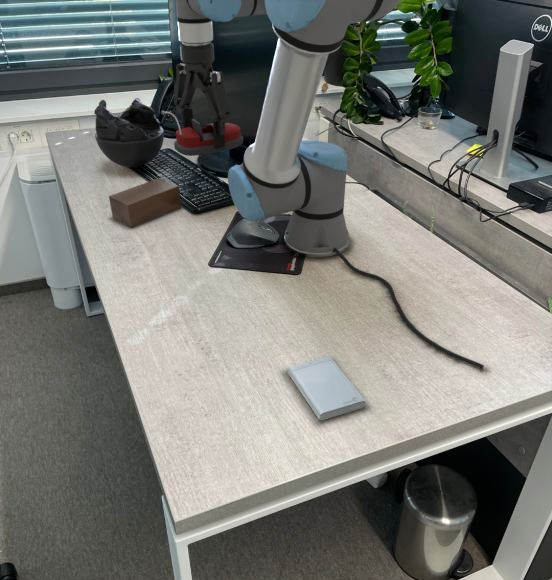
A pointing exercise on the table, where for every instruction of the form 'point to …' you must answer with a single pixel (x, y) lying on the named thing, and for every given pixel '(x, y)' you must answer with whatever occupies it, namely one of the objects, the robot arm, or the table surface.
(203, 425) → the table surface
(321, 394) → the hard drive
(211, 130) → the bumper car
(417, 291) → the table surface
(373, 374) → the table surface
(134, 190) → the walnut block
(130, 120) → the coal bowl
